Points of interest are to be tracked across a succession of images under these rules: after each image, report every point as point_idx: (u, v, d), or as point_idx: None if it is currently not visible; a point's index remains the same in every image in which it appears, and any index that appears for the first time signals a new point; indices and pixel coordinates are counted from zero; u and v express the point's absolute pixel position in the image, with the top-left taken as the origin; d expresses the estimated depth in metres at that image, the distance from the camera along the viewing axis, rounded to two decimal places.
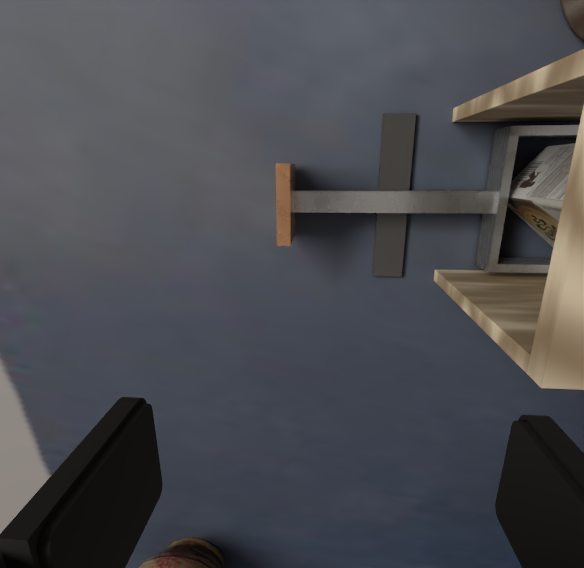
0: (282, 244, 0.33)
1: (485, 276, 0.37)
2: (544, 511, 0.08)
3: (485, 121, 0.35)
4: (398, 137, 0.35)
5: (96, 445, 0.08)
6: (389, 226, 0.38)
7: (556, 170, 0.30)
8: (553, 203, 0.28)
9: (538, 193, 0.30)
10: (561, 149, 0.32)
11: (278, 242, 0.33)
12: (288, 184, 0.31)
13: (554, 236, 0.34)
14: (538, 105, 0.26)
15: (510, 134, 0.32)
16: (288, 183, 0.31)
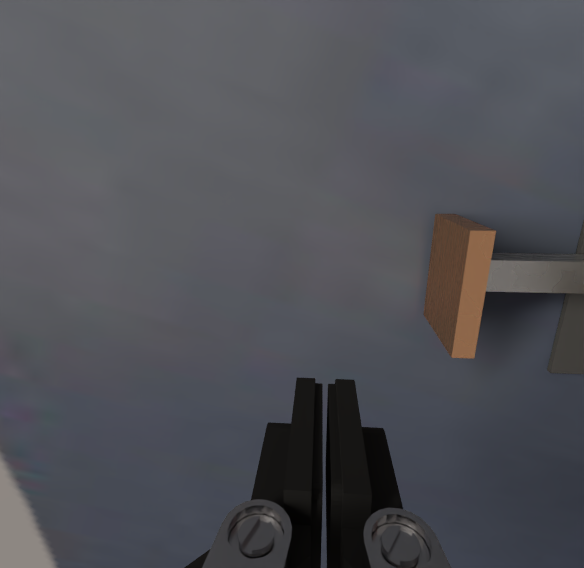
0: (460, 356, 0.20)
1: None
2: (328, 454, 0.09)
3: None
4: None
5: (307, 417, 0.09)
6: None
7: None
8: None
9: None
10: None
11: (454, 352, 0.20)
12: (487, 264, 0.18)
13: None
14: None
15: None
16: (487, 263, 0.18)
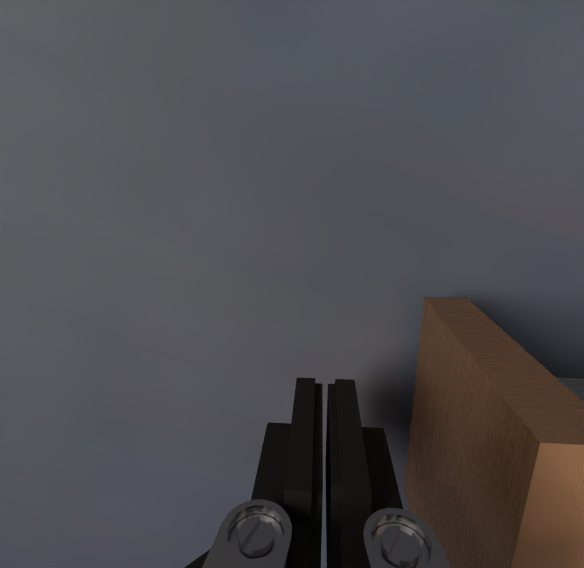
0: None
1: None
2: None
3: None
4: None
5: (307, 417, 0.09)
6: None
7: None
8: None
9: None
10: None
11: None
12: None
13: None
14: None
15: None
16: None
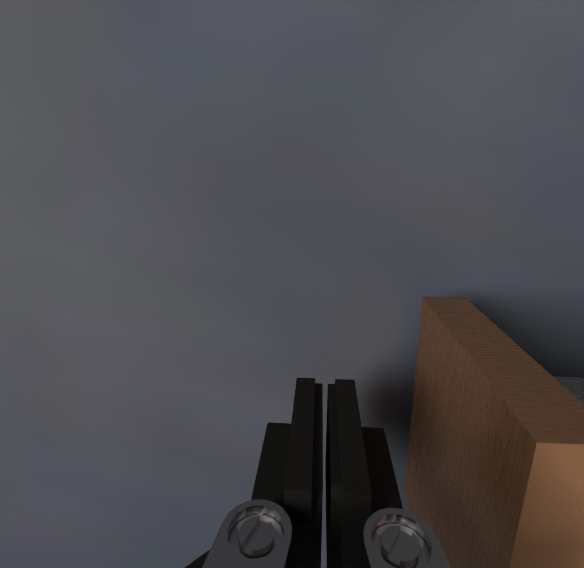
0: None
1: None
2: None
3: None
4: None
5: (307, 417, 0.09)
6: None
7: None
8: None
9: None
10: None
11: None
12: None
13: None
14: None
15: None
16: None
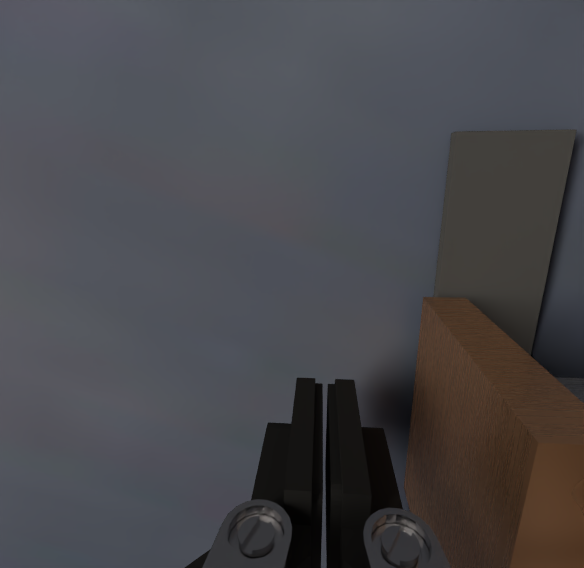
0: None
1: None
2: None
3: None
4: (504, 212, 0.10)
5: (307, 417, 0.09)
6: None
7: None
8: None
9: None
10: None
11: None
12: None
13: None
14: None
15: None
16: None
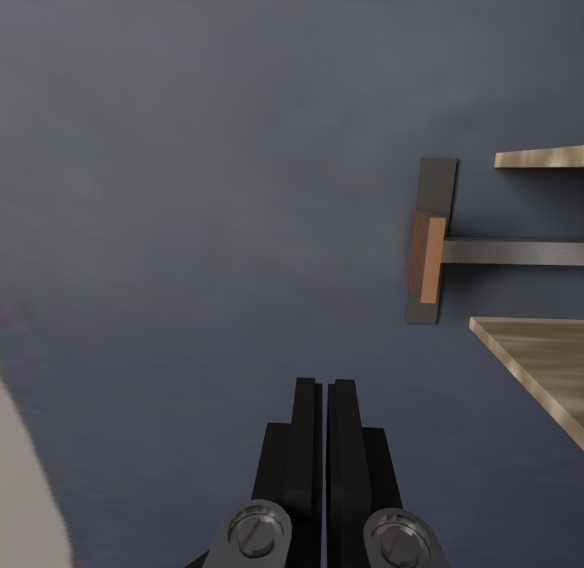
0: (426, 301, 0.30)
1: (526, 327, 0.35)
2: (328, 454, 0.09)
3: None
4: (437, 182, 0.34)
5: (307, 417, 0.09)
6: None
7: None
8: None
9: None
10: None
11: (422, 299, 0.30)
12: (441, 239, 0.29)
13: None
14: None
15: None
16: (441, 238, 0.29)
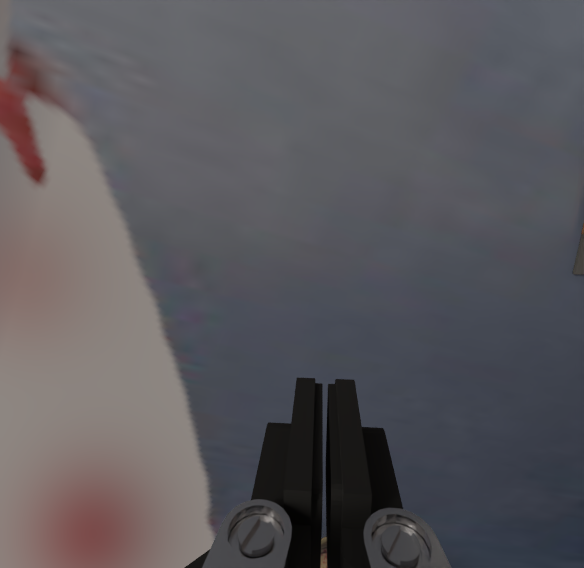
0: None
1: None
2: (328, 455, 0.09)
3: None
4: None
5: (307, 417, 0.09)
6: None
7: None
8: None
9: None
10: None
11: None
12: None
13: None
14: None
15: None
16: None
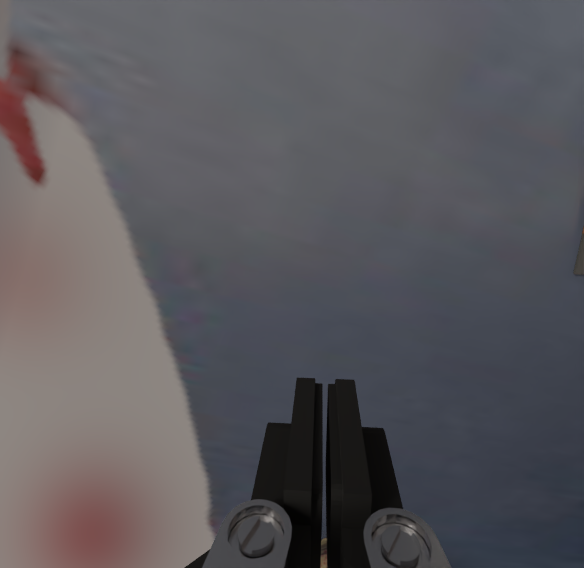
0: None
1: None
2: (328, 455, 0.09)
3: None
4: None
5: (307, 417, 0.09)
6: None
7: None
8: None
9: None
10: None
11: None
12: None
13: None
14: None
15: None
16: None
